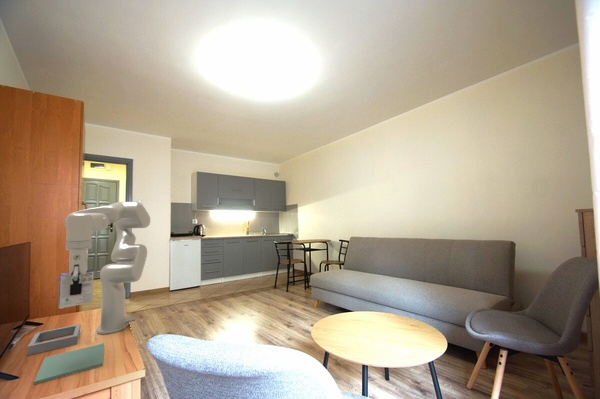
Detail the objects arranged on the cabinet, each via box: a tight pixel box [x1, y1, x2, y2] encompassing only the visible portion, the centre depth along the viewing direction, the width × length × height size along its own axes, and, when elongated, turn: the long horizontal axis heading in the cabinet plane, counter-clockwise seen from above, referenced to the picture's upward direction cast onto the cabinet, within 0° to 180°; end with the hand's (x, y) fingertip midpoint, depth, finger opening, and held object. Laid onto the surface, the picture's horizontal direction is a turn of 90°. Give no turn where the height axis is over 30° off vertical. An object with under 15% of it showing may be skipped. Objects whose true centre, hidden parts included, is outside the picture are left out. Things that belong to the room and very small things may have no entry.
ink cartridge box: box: [57, 269, 95, 310], centre depth 98 cm, size 10×6×14 cm, turn 138°
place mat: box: [33, 343, 105, 386], centre depth 97 cm, size 18×18×1 cm
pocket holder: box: [26, 323, 82, 356], centre depth 112 cm, size 15×15×4 cm
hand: (76, 291), depth 98 cm, fingers closed on ink cartridge box, 6 cm apart
